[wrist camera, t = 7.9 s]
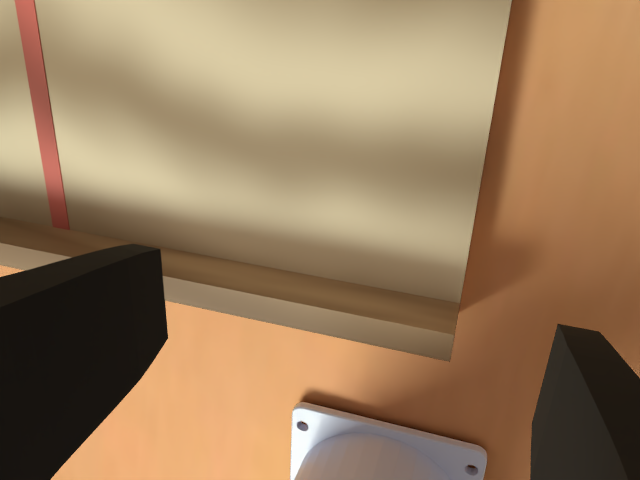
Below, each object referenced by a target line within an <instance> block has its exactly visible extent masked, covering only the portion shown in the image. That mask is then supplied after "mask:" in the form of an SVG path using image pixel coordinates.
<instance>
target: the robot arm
mask: <svg viewBox="0 0 640 480" xmlns="http://www.w3.org/2000/svg"><path fill="white" fill-rule="evenodd" d="M167 339H168V333H167V321H166V309H165V297H164V284H163V272H162V260H161V249H159V248H154V247H148V246H143V245H138V244H127V245H120V246H115V247H111V248H106V249H102V250H98V251H94V252H90V253H87V254H83V255H79V256H76V257H72V258H68V259H65V260H61V261H58V262H54V263H51V264H47V265H43V266H40V267H36V268H33V269H29V270H26V271H22V272H19V273H15V274H11V275H7V276H3V277H0V480H50V479H51V478H52V477H53V476H54V475H55V473H56V472H57V471H58V470H59V469H60V468H61V466H62V465H63V464H64V463H65V462H66V461H67V460H68V459H69V458H70V457H71V455H72V454H73V453H74V452H75V451H76V450H77V449H78V448H79V447H80V446H81V445H82V443H83V442H84V441H85V440H86V439H87V438H88V437H89V436H90V435H91V434H92V433H93V431H94V430H95V429H96V428H97V427H98V426H99V425H100V424H101V423H102V422H103V421H104V419H105V418H106V417H107V416H108V415H109V414H110V413H111V412H112V411H113V410H114V408H115V407H116V406H117V405H118V404H119V403H120V402H121V401H122V400H123V398H124V397H125V396H126V395H127V394H128V393H129V392H130V391H131V389H132V388H133V387H134V386H135V385H136V384H137V383H138V381H139V380H140V379H141V378H142V376H143V375H144V373H145V372H146V371H147V369H148V368H149V366H150V365H151V363H152V362H153V361H154V359H155V358H156V356H157V354H158V353H159V351H160V350H161V348H162V347H163V345H164V343H165V342H166V340H167ZM301 421H303V422H305V423H306V424H307V425H305V424H303V423H302V422H301ZM468 465H473V466H475V467H476V468H471V467H468ZM486 465H487V453H486V451H485V450H484V449H483V448H482V447H481V446H478V445H475V444H471V443H467V442H463V441H459V440H455V439H451V438H447V437H443V436H439V435H435V434H431V433H427V432H423V431H419V430H415V429H411V428H407V427H403V426H399V425H395V424H391V423H387V422H383V421H379V420H375V419H371V418H367V417H363V416H359V415H355V414H351V413H347V412H343V411H339V410H335V409H331V408H327V407H323V406H319V405H315V404H311V403H307V402H300V403H297V404H296V405H295V407H294V409H293V412H292V432H291V466H290V480H483V478H484V474H485V469H486ZM530 480H640V378H639V377H638V376H637V375H636V374H635V372H634V371H633V370H632V369H631V368H630V367H629V365H628V364H627V363H626V362H625V361H624V360H623V358H622V357H621V356H620V355H619V354H618V352H617V351H616V350H615V349H614V348H613V347H612V345H611V344H610V343H609V342H608V341H607V340H606V339H605V337H604V336H603V335H602V334H601V333H600V332H598V331H592V330H587V329H582V328H576V327H571V326H566V325H561V324H558V326H557V329H556V333H555V337H554V341H553V345H552V349H551V352H550V356H549V360H548V364H547V368H546V372H545V375H544V379H543V383H542V387H541V391H540V395H539V398H538V402H537V406H536V410H535V414H534V418H533V422H532V439H531V475H530Z"/></svg>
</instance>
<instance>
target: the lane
mask: <svg viewBox="0 0 640 480" xmlns="http://www.w3.org/2000/svg"><path fill="white" fill-rule="evenodd" d="M511 2H512V0H0V265H2V266H7V267H12V268H16V269H21V270H29V269H33V268H36V267H40V266H43V265H47V264H51V263H54V262H58V261H61V260H65V259H68V258H72V257H76V256H79V255H83V254H87V253H90V252H94V251H98V250H102V249H106V248H111V247H115V246H120V245H127V244H138V245H143V246H148V247H154V248H159V249H161V260H162V272H163V284H164V297H165V301H170V302H174V303H179V304H184V305H188V306H193V307H198V308H202V309H207V310H212V311H216V312H221V313H226V314H230V315H235V316H240V317H244V318H249V319H254V320H258V321H263V322H268V323H272V324H277V325H282V326H286V327H291V328H295V329H300V330H305V331H309V332H314V333H319V334H323V335H328V336H333V337H337V338H342V339H347V340H351V341H356V342H361V343H365V344H370V345H375V346H379V347H384V348H389V349H393V350H398V351H402V352H407V353H412V354H416V355H421V356H426V357H430V358H435V359H440V360H444V361H449V362H450V359H451V353H452V347H453V341H454V336H455V330H456V324H457V318H458V312H459V306H460V300H461V294H462V289H463V283H464V277H465V271H466V265H467V259H468V254H469V248H470V242H471V236H472V230H473V224H474V218H475V213H476V207H477V201H478V195H479V189H480V183H481V178H482V172H483V166H484V160H485V154H486V148H487V143H488V137H489V131H490V125H491V119H492V113H493V108H494V102H495V96H496V90H497V84H498V78H499V73H500V67H501V61H502V55H503V49H504V43H505V38H506V32H507V26H508V20H509V14H510V8H511Z"/></svg>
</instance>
